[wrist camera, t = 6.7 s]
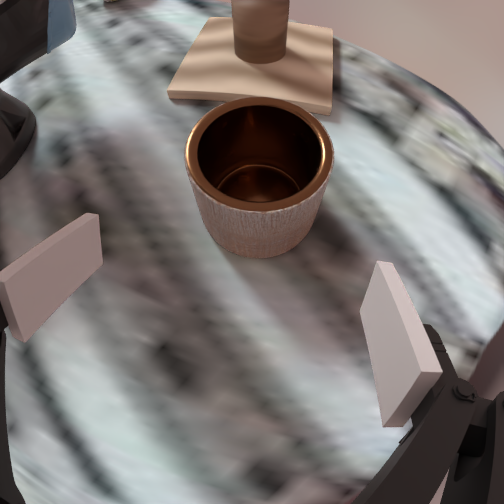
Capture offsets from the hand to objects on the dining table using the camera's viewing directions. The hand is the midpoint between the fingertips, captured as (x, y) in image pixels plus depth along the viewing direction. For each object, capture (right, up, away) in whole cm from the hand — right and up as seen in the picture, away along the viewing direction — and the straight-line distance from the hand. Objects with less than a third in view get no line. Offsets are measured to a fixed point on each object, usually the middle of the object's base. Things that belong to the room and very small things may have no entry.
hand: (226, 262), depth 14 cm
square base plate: (+2, +28, +24) cm, 37 cm away
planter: (+2, +5, +17) cm, 17 cm away
